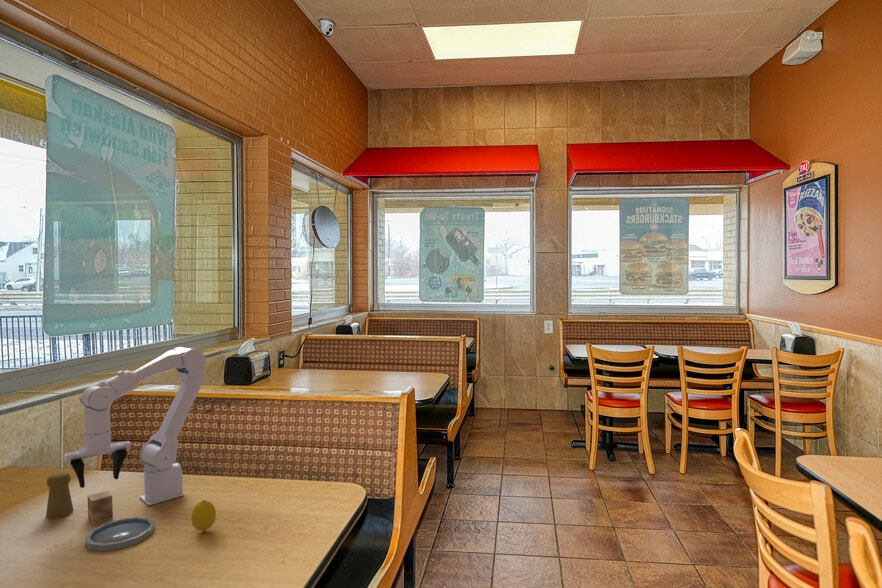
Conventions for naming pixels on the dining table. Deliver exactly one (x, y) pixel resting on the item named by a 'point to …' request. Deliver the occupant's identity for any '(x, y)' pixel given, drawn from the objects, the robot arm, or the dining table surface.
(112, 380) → the robot arm
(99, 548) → the plate
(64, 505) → the cork
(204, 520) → the lemon
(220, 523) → the dining table surface
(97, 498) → the block
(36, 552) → the dining table surface
